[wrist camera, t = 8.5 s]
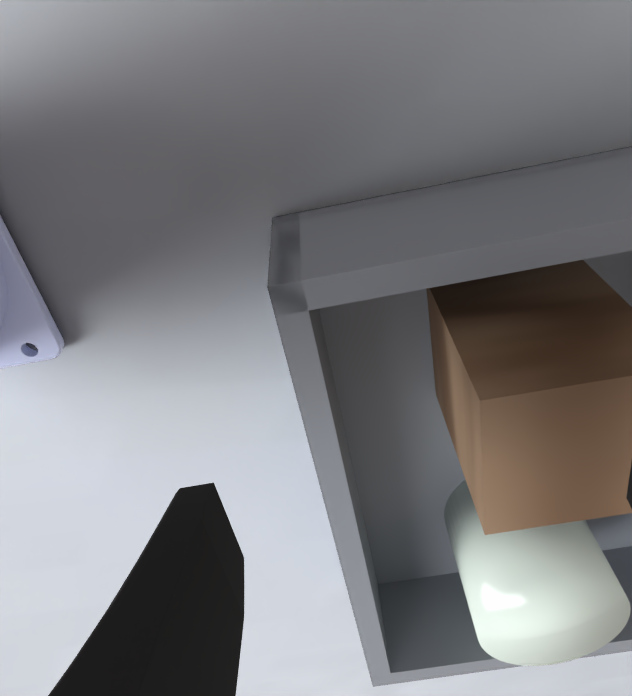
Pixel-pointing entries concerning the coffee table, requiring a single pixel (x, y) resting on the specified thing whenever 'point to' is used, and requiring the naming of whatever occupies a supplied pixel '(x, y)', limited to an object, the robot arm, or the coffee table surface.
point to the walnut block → (536, 393)
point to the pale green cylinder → (535, 587)
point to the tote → (423, 380)
